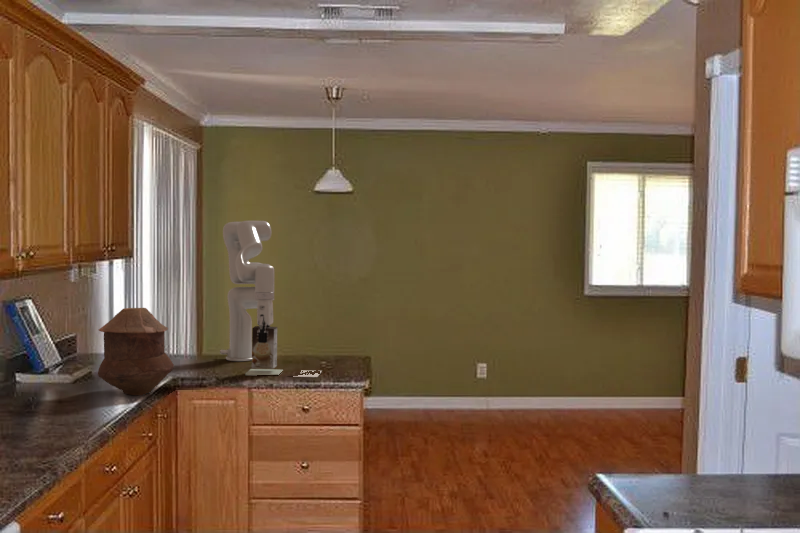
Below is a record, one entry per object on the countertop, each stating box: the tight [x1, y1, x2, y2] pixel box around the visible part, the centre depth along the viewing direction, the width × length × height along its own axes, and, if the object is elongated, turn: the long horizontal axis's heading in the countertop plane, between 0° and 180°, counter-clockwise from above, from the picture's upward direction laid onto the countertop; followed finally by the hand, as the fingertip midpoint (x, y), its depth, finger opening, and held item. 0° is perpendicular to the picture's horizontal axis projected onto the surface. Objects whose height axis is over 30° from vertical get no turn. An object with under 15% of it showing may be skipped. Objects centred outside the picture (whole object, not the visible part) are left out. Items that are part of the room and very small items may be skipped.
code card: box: [293, 369, 323, 378], centre depth 349 cm, size 12×14×1 cm
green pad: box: [245, 368, 284, 376], centre depth 349 cm, size 13×10×1 cm
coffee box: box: [251, 325, 278, 369], centre depth 348 cm, size 9×6×16 cm
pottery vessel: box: [97, 307, 175, 396], centre depth 307 cm, size 26×26×30 cm
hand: (264, 340), depth 348 cm, fingers closed on coffee box, 6 cm apart
